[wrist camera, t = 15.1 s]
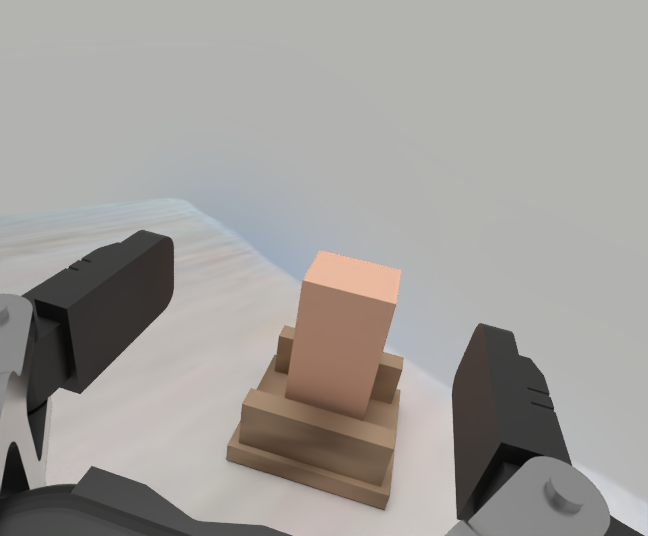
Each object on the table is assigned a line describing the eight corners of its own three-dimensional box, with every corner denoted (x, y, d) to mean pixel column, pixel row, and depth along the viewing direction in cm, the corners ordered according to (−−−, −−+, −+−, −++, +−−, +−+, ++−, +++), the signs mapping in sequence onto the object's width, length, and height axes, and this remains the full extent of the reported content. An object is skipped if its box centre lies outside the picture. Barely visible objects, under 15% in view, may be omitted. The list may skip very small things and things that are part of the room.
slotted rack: (226, 459, 24) (230, 406, 22) (273, 367, 31) (279, 320, 29) (384, 509, 23) (403, 458, 21) (396, 402, 30) (411, 356, 28)
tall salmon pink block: (280, 425, 25) (302, 280, 20) (296, 385, 28) (319, 250, 24) (355, 448, 25) (396, 304, 20) (363, 404, 28) (401, 270, 23)
